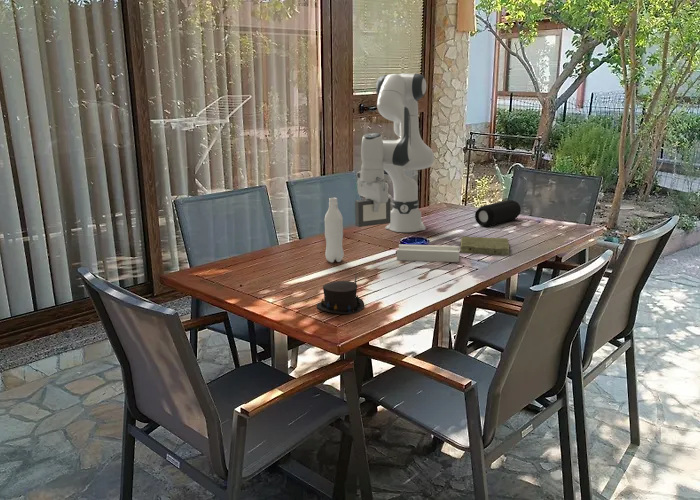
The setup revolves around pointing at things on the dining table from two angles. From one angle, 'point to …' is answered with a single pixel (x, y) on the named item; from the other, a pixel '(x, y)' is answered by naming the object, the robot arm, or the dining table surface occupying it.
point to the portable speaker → (497, 213)
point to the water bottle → (333, 232)
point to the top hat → (341, 298)
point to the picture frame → (371, 213)
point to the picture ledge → (428, 253)
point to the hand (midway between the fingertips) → (372, 210)
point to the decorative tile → (484, 245)
